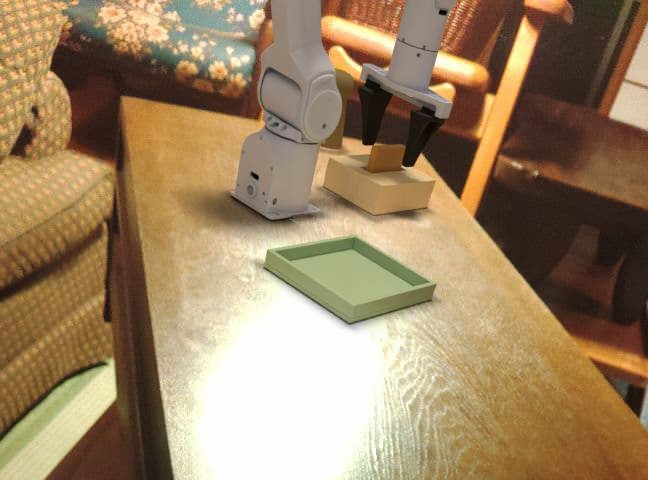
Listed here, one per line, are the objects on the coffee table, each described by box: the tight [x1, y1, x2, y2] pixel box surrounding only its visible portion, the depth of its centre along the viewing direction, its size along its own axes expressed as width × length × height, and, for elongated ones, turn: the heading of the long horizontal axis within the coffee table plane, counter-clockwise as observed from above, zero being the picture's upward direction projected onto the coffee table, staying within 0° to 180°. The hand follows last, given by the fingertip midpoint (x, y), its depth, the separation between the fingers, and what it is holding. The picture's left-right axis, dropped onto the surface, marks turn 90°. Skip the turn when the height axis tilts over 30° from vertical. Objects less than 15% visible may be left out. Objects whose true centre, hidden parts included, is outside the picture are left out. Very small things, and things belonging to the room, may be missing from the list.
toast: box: [366, 143, 406, 173], centre depth 106 cm, size 7×1×7 cm, turn 138°
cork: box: [320, 67, 355, 150], centre depth 119 cm, size 6×6×11 cm
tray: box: [263, 234, 438, 324], centre depth 84 cm, size 15×13×2 cm
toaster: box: [322, 153, 437, 217], centre depth 108 cm, size 14×10×4 cm
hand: (387, 155), depth 105 cm, fingers open, 7 cm apart
